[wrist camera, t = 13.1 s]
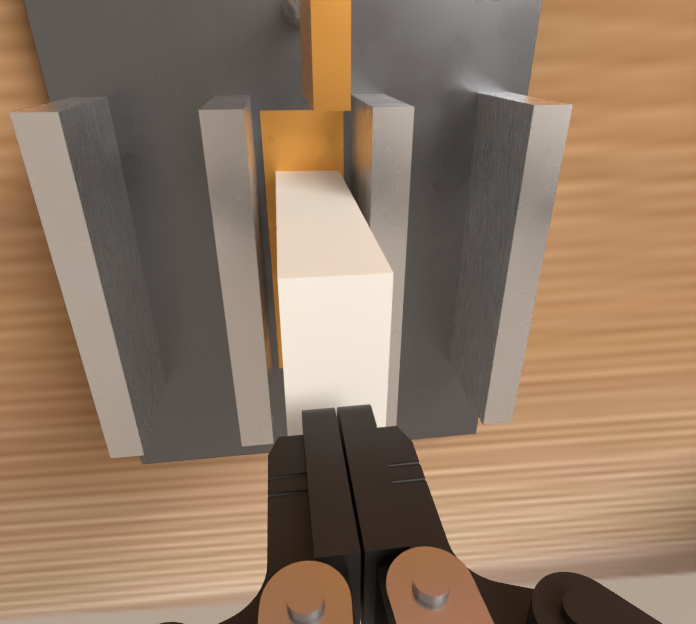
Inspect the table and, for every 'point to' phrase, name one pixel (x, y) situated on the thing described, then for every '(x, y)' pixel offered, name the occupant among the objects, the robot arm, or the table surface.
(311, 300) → the block
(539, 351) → the table surface
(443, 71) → the rack
